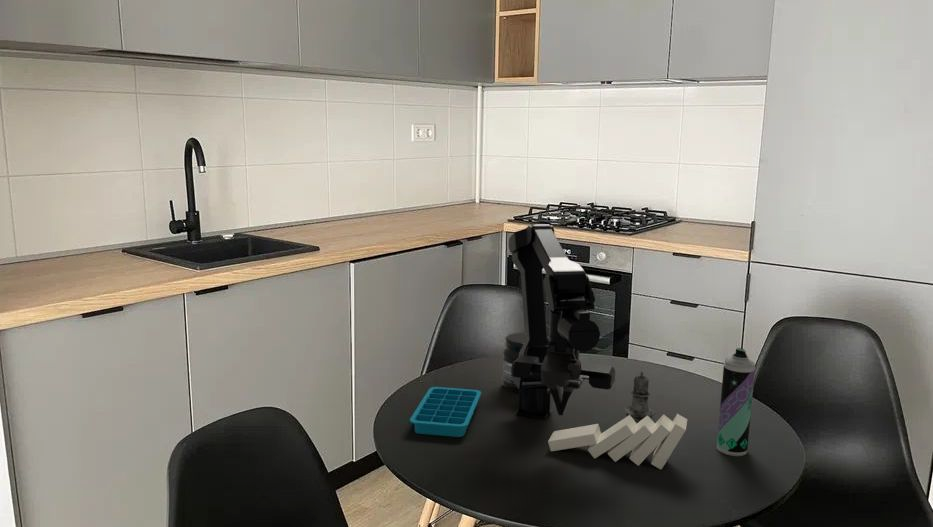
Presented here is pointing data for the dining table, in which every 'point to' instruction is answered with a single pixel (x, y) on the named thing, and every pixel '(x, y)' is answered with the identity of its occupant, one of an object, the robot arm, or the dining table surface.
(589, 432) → the domino
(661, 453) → the domino
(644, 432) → the domino
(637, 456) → the domino
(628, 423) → the domino
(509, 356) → the supplement container
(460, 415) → the ice cube tray
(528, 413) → the robot arm
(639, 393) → the chess piece
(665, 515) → the dining table surface
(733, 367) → the spray can
